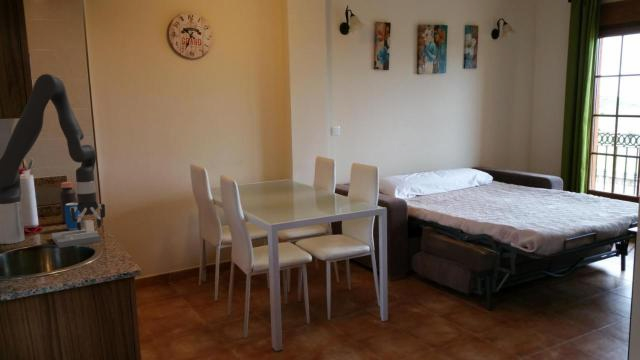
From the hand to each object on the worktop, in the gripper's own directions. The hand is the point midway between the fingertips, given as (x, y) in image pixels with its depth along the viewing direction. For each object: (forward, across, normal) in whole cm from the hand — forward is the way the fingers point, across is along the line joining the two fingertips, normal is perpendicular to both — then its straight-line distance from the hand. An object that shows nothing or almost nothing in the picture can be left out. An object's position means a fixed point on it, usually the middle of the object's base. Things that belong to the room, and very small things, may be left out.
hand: (89, 228), depth 226 cm
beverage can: (+5, -2, +24) cm, 25 cm away
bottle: (+5, -1, +40) cm, 40 cm away
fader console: (+4, -6, +1) cm, 7 cm away
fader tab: (+2, 0, 0) cm, 2 cm away
